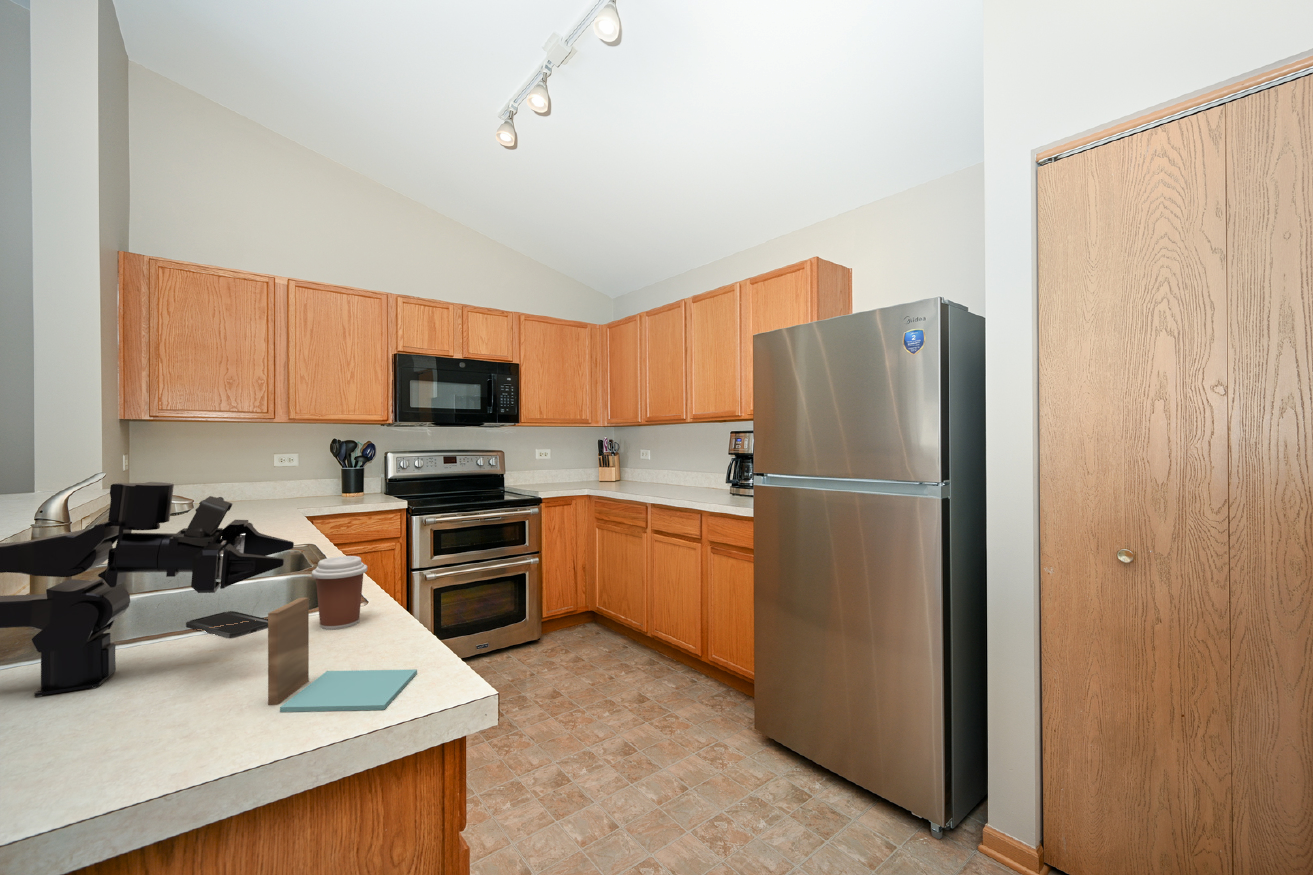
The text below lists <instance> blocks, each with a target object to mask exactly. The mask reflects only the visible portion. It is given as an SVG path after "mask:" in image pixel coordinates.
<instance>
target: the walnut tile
mask: <svg viewBox="0 0 1313 875" xmlns="http://www.w3.org/2000/svg"><path fill="white" fill-rule="evenodd" d="M309 603H310V601H309V597H299V598H297V599H294V600H293V601H291V602H289V603H287V604H284V605H283V606H280V607H278V608H276V609H273V610H272V611H270V612H268V613H267V619H268V628H267V704H268V705H267V706H279V705H280V704H281V703H282V702H284V701H285V700H286V699H288V698H289V697H290V696H291V695H293V694H294V693H295V692H297V691H298V690H300V689H301V688H302V687H303V686H305V685H306V684H307V683H309V682H310V681H309V680H310V679H309V676H310V675H309V674H310V672H309V669H310V668H309V666H310V661H309V653H310V652H309V651H310V650H309V648H310V646H309V645H310V643H309V642H310V640H309V639H310V638H309V637H310V634H309V633H310V632H309V630H310V629H309V628H310V627H309V622H310V620H309V619H310V618H309V616H310V615H309V614H310V612H309V609H310V608H309Z"/></svg>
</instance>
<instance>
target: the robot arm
mask: <svg viewBox="0 0 1313 875" xmlns="http://www.w3.org/2000/svg"><path fill="white" fill-rule="evenodd" d="M174 486H175V485H174V483H170V482H160V481H158V482H157V481H147V482H128V483H127V482H126V483H125V482H124V483H123V482H117V483H115V482H114V483H112V484H110V489H109V496H110V503H109V512H108V517H107V518H108V519H107V520H106V521H103V522H101V523H97V524H94V526H93V527H92V528H86V529H81V530H80V529H79V530H74V531H70V532H69V531H68V532H64V533H63V532H62V533H58V534H52V535H49V536H43V537H40V538H39V537H38V538H35V539H30V540H24V541H15V542H14V541H13V542H11V541H10V542H0V574H4V573H8V574H9V573H12V574H13V573H14V574H22V575H29V576H34V577H53V578H70V577H71V578H72V577H74V576H78V575H80V574H83V573H85V572H87V571H89V570H92V569H94V568H96V567H98V566H100V565H102V564H104V563H105V562H106V561H107V565H106V568H105V570H103V571H101V572H99V573H98V575H97V577H99V578H98V579H94V580H93V579H92V580H87V579H86V580H85V579H84V580H83V579H74V578H73V579H67V580H65V581H62V582H60V583H58V584H56V585H54V586H50V587H49V588H47V589H45V593H41V594H39V593H38V594H16V595H15V594H13V595H12V594H11V595H7V594H6V595H0V629H9V628H32V629H36V630H39V632H38V633H36V635H34V636H32V638H31V642H32V644H33V646H34V647H35V649H36V651H37V652H38V653H40V688H38V689H37V690H36V691H34V693H33V695H34V696H33V697H39V696H45V695H52V694H59V693H65V692H73V691H80V690H85V689H93V688H97V687H99V686H101V685H102V683H104V682H105V681H106V680H107V679H108V678H109V677H110V676H111V675H112V674H114V672H116V643H115V642H112V643H111V639H112V638H111V632H107V631H108V630H110V629H112V627H113V626H114V624H115V620H116V619H117V618H119V617H121V616H122V615H123V614H124V613H125V612H126V611H127V610H128V608H129V607H130V605H131V604H130V603H131V596H130V593H129V592H128V589H126V588H125V587H124V586H122V584H123V583H124V582H126V581H127V574H128V573H129V574H132V573H133V574H134V573H136V574H137V573H138V574H139V573H141V574H143V573H146V574H147V573H148V574H149V573H150V574H151V573H165V574H166V575H165V577H168V578H170V577H176V576H177V575H179V573H191V582H190V587H191V588H192V590H194V591H196V592H197V593H198V594H215V593H216V592H217V590H219V588H220V590H223V589H225V588H227V587H230V586H232V585H235V584H237V583H239V582H243V581H245V580H247V579H251V578H253V577H256V576H259V575H261V574H265V573H267V572H270V571H272V570H273V571H274V570H276V569H278V568H281V567H283V566H284V562H285V559H284V558H283V557H282V558H281V557H275V556H270V555H275V554H278V553H283V552H285V551H289V550H292V549H294V548H295V547H294V545H295V543H294V541H291V540H288V539H283V538H280V537H276V536H275V537H274V536H272V535H267V534H264V533H261V532H259V531H258V530H257V529H256V528H255V526H254V524H253V523H252V522H249V519H234V520H232V521H231V522H230V523H228V524H227V525H226V526H225V527H224V528H223V527H220V525H221V523H222V522H223V520H224V519H225V516H226V515H227V512H229V511H230V510H231V508H232V507H233V504H234V503H232V502H230V501H227V500H225V499H224V498H223V497H222V496H218V497H216V496H212V495H210V496H208V497H206V498H205V499H202V500H200V501H199V505H198V507H197V508H195V513H194V515H193V517H192V518H191V520H190V522H189V524H188V526H187V528H186V527H185V528H182V529H180V530H179V531H177V532H176V533H169V532H163V533H162V532H160V533H159V532H152V533H151V532H132V531H154V530H159V529H161V528H160V527H161V524H165V523H169V522H170V520H171V519H170V518H171V513H172V512H171V510H172V503H173V502H172V501H173V494H174ZM115 543H116V544H115ZM113 545H115V547H113ZM217 580H220V581H217ZM105 632H106V633H105Z"/></svg>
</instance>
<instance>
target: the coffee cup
mask: <svg viewBox="0 0 1313 875" xmlns="http://www.w3.org/2000/svg"><path fill="white" fill-rule="evenodd" d="M367 571H368V565H367V564H364V562H362V558H361V557H360V556H358V555H341V556H332V557H327V558H323V559H320V560H319V561H318V562H317V566H316V568H315V569H313V570H312V571H311V577H312V578H313V579H315V584H316V586H315V587H316V595H317V596H316V597H317V606H318V615H319V617H318V618H319V627H320V629H322V630H326V631H327V630H328V631H333V630H344V629H346V628H351V627H354V626H356V625H358V624H359V623H360V615H361V605H362V604H361V603H362V596H363V595H362V593H363V583H364V582H363V580H364V574H365V573H366V572H367Z"/></svg>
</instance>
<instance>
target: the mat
mask: <svg viewBox="0 0 1313 875" xmlns="http://www.w3.org/2000/svg"><path fill="white" fill-rule="evenodd" d="M417 674H418V669H369V670H368V669H364V670H363V669H362V670H361V669H360V670H357V669H356V670H355V669H354V670H326V671H325V672H324V673H322V674H321V675H320V676H319V677H317V678H316V679H314V680H313V681H312V682H310V684H308V685H306V686H305V687H304V688H303V689H301V690H300V691H298V693H296V694H295V695H294V696H292V697H291V698H290V699H288V700H287V701H286V702H284V704H282V705H281V706H280V707H279V713H287V712H288V713H289V712H290V713H293V712H295V713H296V712H298V713H299V712H336V711H340V712H341V711H347V712H348V711H349V712H350V711H385V709H387V707H389V705H390V704H391V703H392V701H393V700H394V699H396V697H398V695H399V694H400V693H401V692H403V689H405V687H407V685H408V684H409V683H410V682H411V681H412V680H413V678H415V677H416V675H417Z"/></svg>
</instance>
